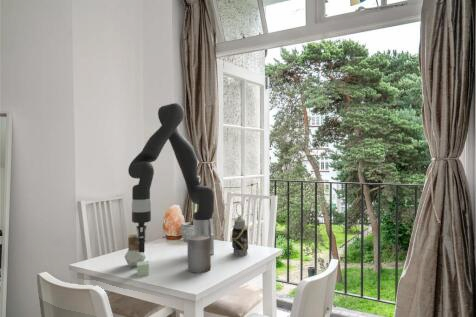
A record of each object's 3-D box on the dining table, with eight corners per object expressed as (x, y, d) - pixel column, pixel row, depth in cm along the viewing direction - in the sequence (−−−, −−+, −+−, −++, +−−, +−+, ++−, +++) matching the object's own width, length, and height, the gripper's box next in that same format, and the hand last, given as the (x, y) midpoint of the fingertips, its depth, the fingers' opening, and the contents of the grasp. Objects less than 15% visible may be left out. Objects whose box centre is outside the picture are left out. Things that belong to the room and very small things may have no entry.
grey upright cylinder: (205, 264, 155) (204, 230, 155) (214, 270, 147) (213, 234, 146) (184, 268, 151) (183, 233, 151) (192, 274, 142) (191, 237, 142)
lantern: (251, 254, 169) (250, 202, 169) (237, 257, 166) (236, 204, 165) (242, 250, 177) (241, 200, 177) (228, 252, 173) (227, 202, 173)
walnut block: (141, 246, 159) (141, 234, 159) (141, 249, 154) (141, 236, 154) (128, 247, 158) (128, 235, 158) (128, 250, 152) (128, 237, 152)
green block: (148, 271, 147) (148, 261, 147) (148, 275, 143) (148, 264, 143) (137, 272, 146) (137, 262, 146) (137, 276, 141) (137, 265, 141)
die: (134, 271, 150) (147, 251, 153) (117, 260, 151) (131, 241, 154) (139, 272, 157) (151, 253, 160) (123, 262, 159) (136, 243, 162)
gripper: (151, 212, 138) (151, 253, 138) (150, 207, 152) (150, 245, 152) (131, 213, 136) (131, 254, 136) (132, 208, 150) (132, 246, 150)
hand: (141, 249), depth 144 cm, fingers open, 8 cm apart
